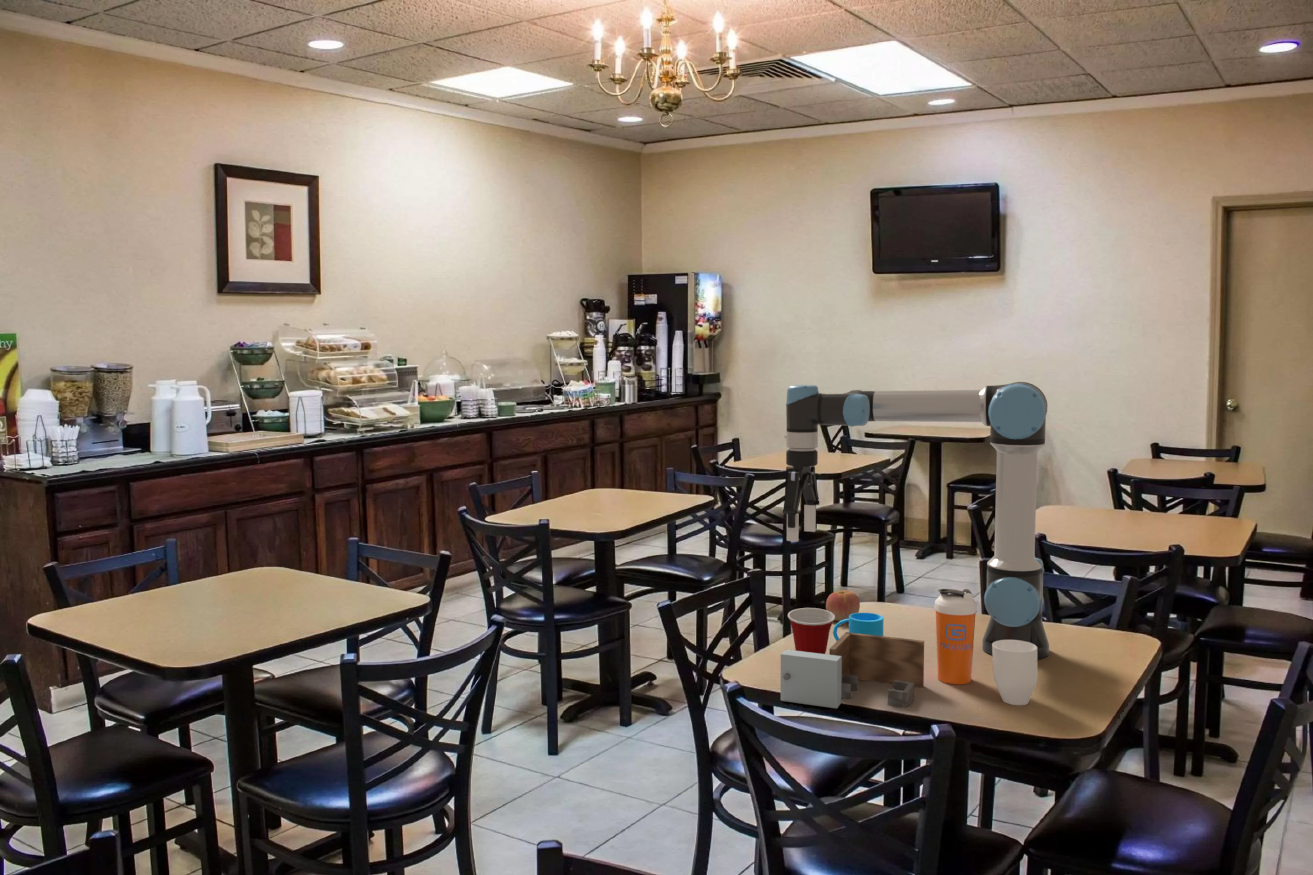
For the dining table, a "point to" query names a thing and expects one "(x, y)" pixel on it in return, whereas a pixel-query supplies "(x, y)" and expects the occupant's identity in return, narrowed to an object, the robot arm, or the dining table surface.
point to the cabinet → (881, 664)
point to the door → (811, 678)
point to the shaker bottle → (955, 635)
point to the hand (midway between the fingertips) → (801, 536)
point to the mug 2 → (1015, 670)
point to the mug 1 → (862, 624)
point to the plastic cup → (811, 629)
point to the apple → (843, 604)
